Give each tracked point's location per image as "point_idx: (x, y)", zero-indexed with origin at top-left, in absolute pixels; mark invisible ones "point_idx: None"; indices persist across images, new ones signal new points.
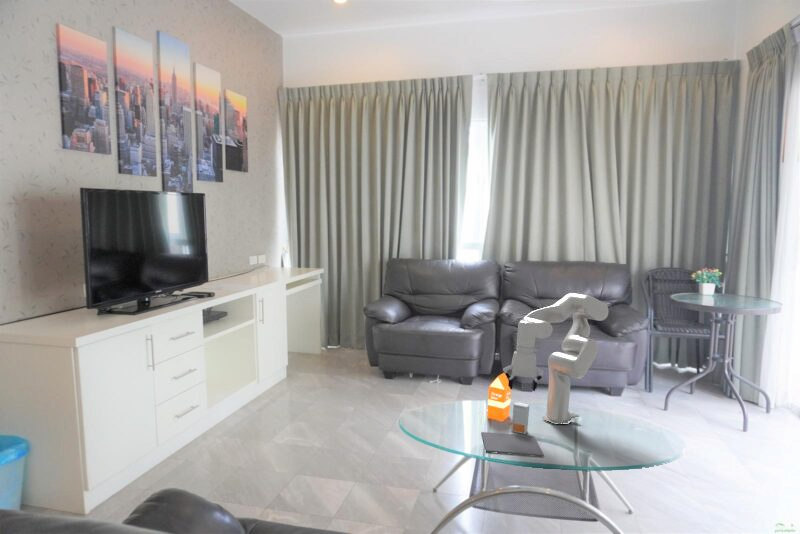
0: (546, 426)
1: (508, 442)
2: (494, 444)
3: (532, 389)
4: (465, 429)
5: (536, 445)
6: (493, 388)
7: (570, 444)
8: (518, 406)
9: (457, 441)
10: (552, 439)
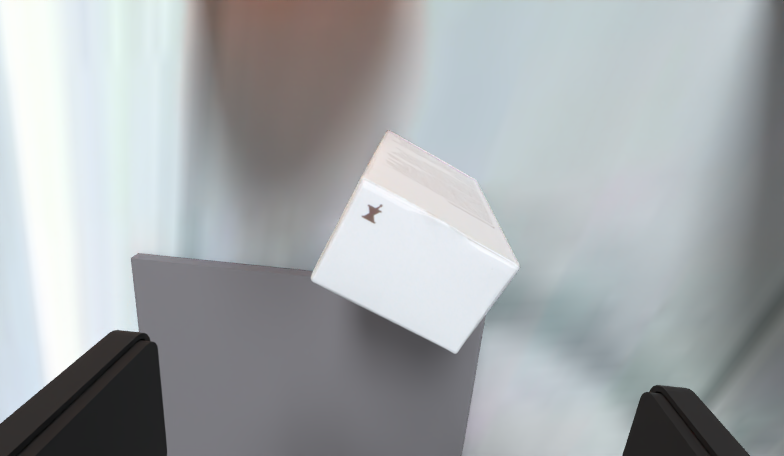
0: (693, 53)
1: (289, 394)
2: (204, 421)
3: (629, 445)
4: (32, 189)
5: (450, 422)
6: None
7: (696, 366)
8: (365, 303)
9: (8, 365)
10: (610, 302)
